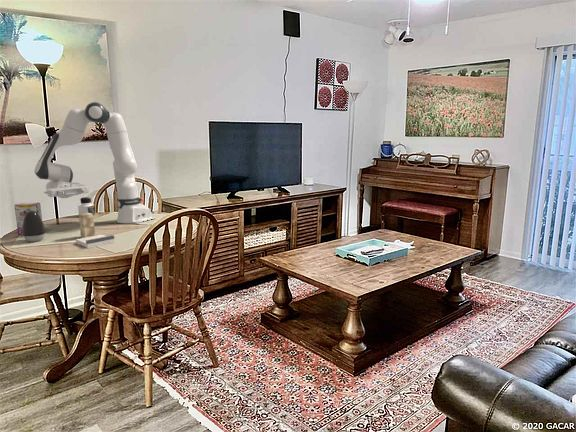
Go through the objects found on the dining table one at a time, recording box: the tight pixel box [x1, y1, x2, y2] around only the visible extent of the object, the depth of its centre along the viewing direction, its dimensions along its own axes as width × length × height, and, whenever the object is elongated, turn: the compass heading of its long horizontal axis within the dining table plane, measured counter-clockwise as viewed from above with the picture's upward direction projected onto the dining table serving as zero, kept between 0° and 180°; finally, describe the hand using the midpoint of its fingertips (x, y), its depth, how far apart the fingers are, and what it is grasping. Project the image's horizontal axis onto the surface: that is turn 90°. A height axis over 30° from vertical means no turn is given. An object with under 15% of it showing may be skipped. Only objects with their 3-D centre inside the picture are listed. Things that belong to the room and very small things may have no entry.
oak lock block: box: [78, 213, 96, 238], centre depth 222 cm, size 5×5×12 cm
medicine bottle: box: [77, 196, 97, 216], centre depth 274 cm, size 7×7×12 cm
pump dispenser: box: [21, 211, 46, 243], centre depth 215 cm, size 10×10×15 cm
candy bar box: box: [14, 202, 43, 235], centre depth 230 cm, size 11×5×16 cm, turn 100°
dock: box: [75, 234, 116, 249], centre depth 211 cm, size 13×13×4 cm
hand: (74, 192), depth 227 cm, fingers open, 8 cm apart
